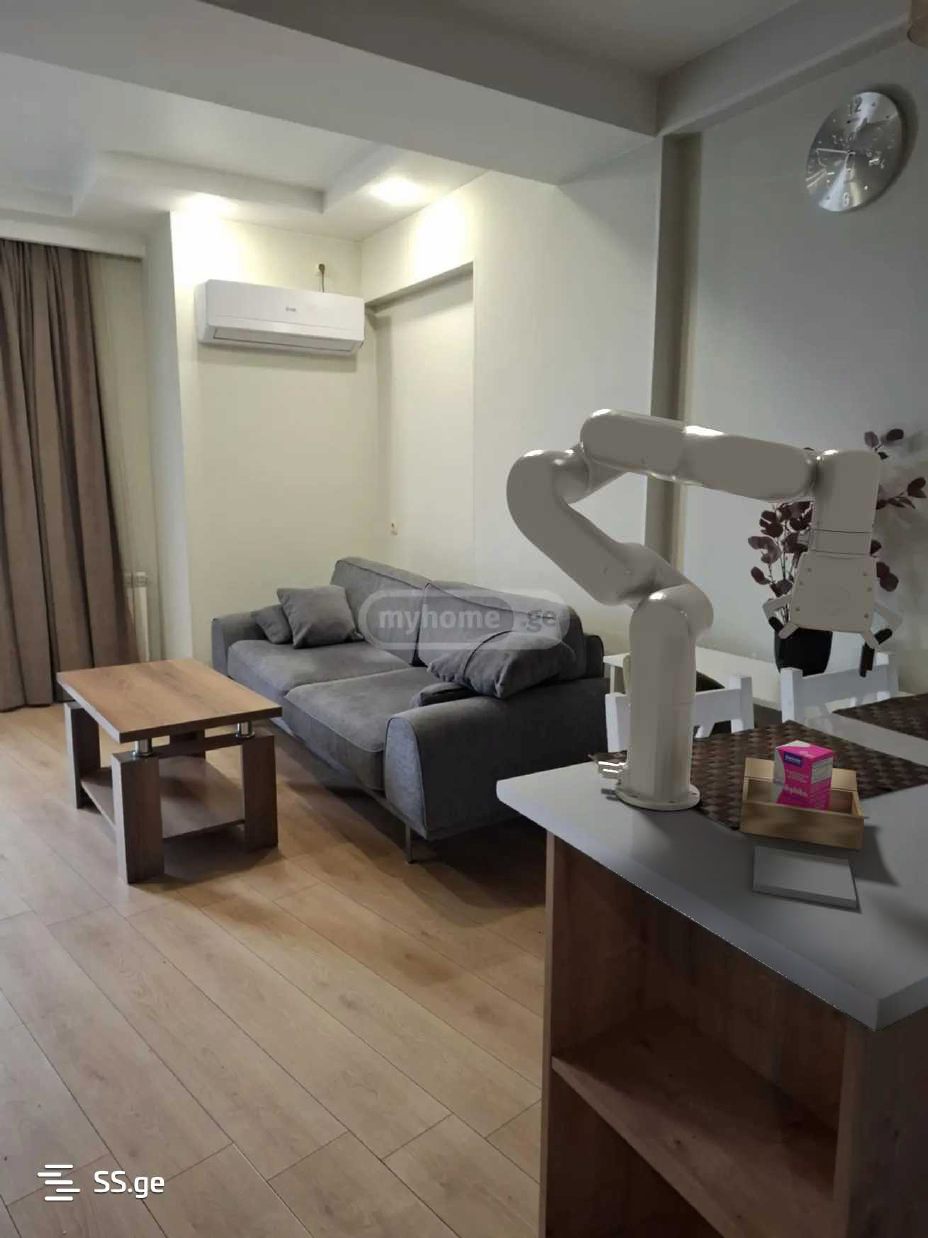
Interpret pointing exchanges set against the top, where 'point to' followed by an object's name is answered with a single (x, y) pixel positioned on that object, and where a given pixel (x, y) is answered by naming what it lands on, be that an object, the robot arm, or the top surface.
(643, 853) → the top surface
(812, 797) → the supplement box
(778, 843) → the top surface
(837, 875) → the mat
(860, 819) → the wooden crate
